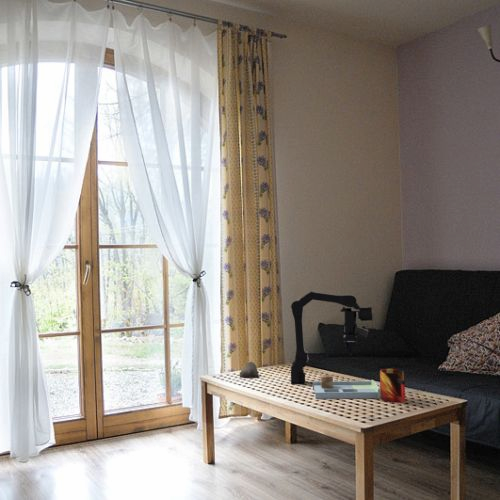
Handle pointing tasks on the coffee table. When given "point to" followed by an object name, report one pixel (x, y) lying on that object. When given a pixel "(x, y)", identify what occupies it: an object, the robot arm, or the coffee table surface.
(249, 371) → the stone
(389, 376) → the mug
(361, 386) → the trap box
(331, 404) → the coffee table surface
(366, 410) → the coffee table surface
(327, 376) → the block
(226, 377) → the coffee table surface
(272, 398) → the coffee table surface
